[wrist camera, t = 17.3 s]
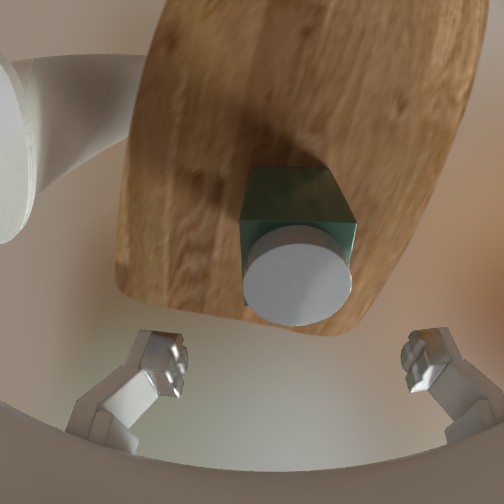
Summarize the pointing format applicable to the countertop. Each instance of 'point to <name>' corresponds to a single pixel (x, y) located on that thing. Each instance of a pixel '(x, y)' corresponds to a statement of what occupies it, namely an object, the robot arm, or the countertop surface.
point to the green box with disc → (295, 244)
